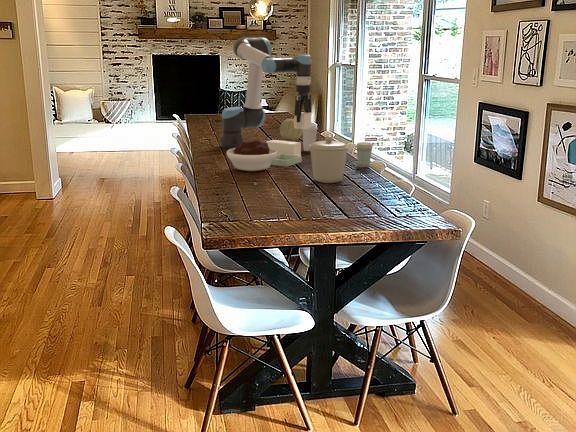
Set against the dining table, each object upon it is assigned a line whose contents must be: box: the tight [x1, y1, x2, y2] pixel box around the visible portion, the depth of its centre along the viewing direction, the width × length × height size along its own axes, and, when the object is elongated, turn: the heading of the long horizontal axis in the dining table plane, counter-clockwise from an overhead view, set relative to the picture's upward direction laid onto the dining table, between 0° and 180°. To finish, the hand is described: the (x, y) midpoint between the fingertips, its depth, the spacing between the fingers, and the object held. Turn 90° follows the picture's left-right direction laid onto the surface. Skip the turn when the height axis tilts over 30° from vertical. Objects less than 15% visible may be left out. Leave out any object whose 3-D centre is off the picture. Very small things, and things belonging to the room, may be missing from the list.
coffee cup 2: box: [355, 142, 374, 168], centre depth 322 cm, size 8×8×12 cm
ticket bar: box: [265, 139, 302, 156], centre depth 349 cm, size 18×8×8 cm, turn 60°
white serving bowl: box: [226, 139, 277, 172], centre depth 311 cm, size 25×25×15 cm
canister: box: [309, 135, 349, 184], centre depth 287 cm, size 18×18×21 cm
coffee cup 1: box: [302, 123, 319, 152], centre depth 368 cm, size 10×10×15 cm
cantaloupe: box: [279, 118, 303, 142], centre depth 400 cm, size 15×15×15 cm
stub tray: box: [270, 154, 303, 168], centre depth 331 cm, size 13×16×3 cm
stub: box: [293, 111, 312, 129], centre depth 338 cm, size 6×8×8 cm
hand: (302, 127), depth 339 cm, fingers closed on stub, 8 cm apart
